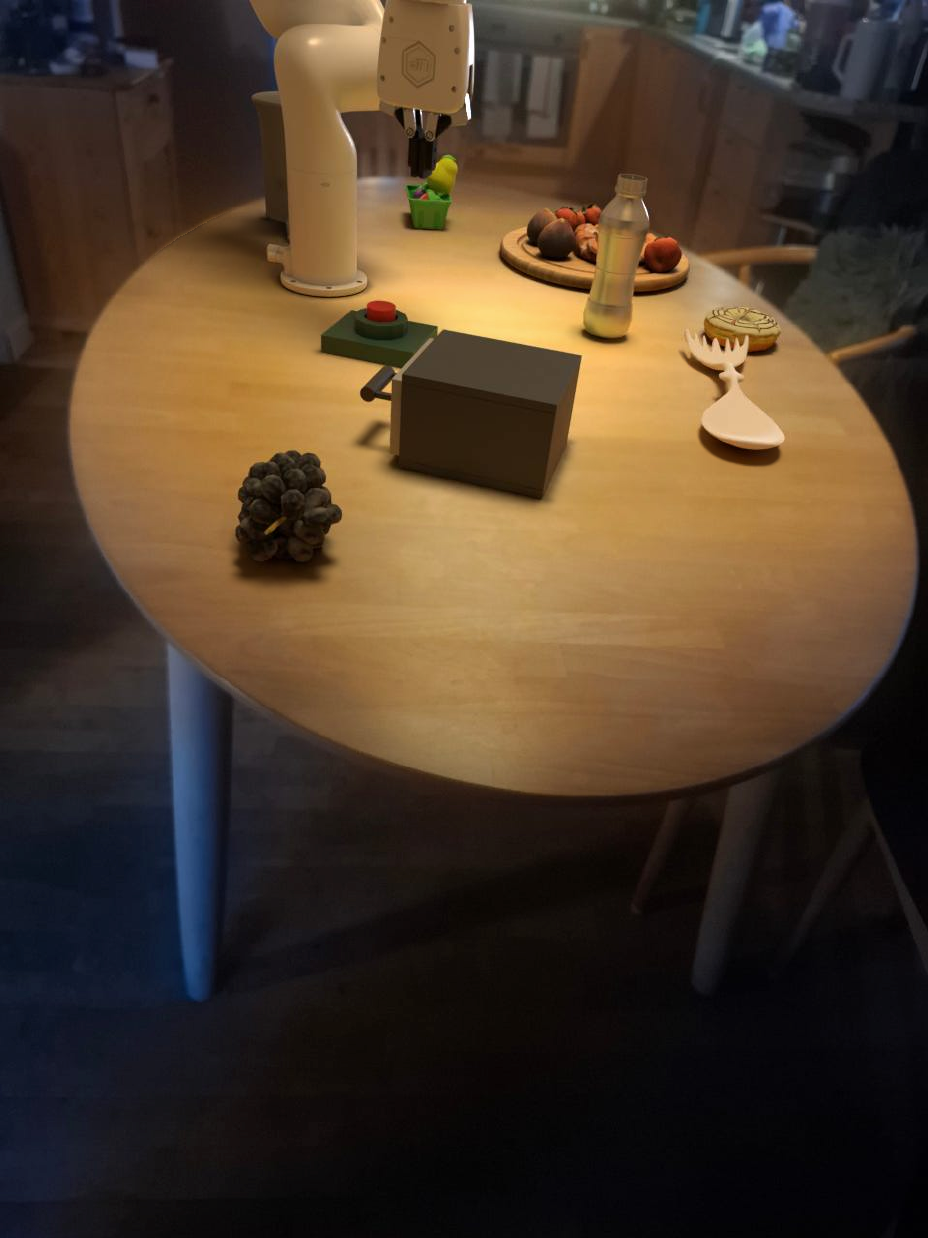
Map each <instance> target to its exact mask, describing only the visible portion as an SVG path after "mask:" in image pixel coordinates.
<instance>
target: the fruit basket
mask: <svg viewBox="0 0 928 1238" xmlns="http://www.w3.org/2000/svg"><path fill="white" fill-rule="evenodd" d="M456 161H457V159H456V158H455V157H453V155H451V154H445V155H443V156H442V157H440V160H439V161H438V162H436V168H435V170H434V171H432V175H430V176H429V177H427V178H426V180H427V181H426V182H424V181H422V182H421V184H405V190H406V195H407V199H408V204H409V210H410V215H411V220H412V224H413V227H414V229H424V230H443V229H444V226H445V223H446V218H447V215H448V212H449V209H450V207H451V204H452V201H453V200H452V198H451V195H450V193H452V191H453V190H454V188H455V185H456V178H457V174H458V171H459V170H458V169H459V168H458V164H457V163H456Z"/></svg>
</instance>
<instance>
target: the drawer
mask: <svg viewBox="0 0 928 1238" xmlns="http://www.w3.org/2000/svg"><path fill="white" fill-rule="evenodd" d="M433 340H434V339H432V338H429V340H428V341H427V342H426V343H425V344H424V345H423V346H422V347H421V348H420V349H419V350H418V351H417V352H416V354H415V355H414V356H413V357H412V358H411V359H410V360H409V361H408V362H407V363H406V364H405V365H404V366H403V367H402V368H400V369H399V371H398V372H395V369H394V368H393V366H389V365H383V366H382V367H380V369H379V370H378V371H377V372H376V373H375V374H374V375H373V376H372V377H371V378H370V379H369V380H368V381H367V382H366V383H365V384H364V385H363V386H362V387H361V388H360V390H359V396H360V398H361V399H362V401H364V402H366V403H371V402H373V401H375V400H376V399H378V400H382V401H388V402H390V424H389V425H390V426H389V427H390V428H389V430H390V431H389V432H390V433H389V454H390V455H394V456H398V457H399V441H400V415H401V389H402V374H403V372H404V371H405V370H406V369H407V368H408V367H409V366H410V365H411V364H412V363H413V362H414V360H415V359H416V358H417V357H418V356H419V355H420V354H421V353H422V352H423V351H424V350H425V348H426V347H427V346H428V345H429V344H430V343H431V342H432V341H433ZM389 384H391V389H390V391H391V392H386V391H383V390H385V388H386V387H387V386H388V385H389Z"/></svg>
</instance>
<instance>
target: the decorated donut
mask: <svg viewBox="0 0 928 1238" xmlns="http://www.w3.org/2000/svg"><path fill="white" fill-rule="evenodd" d="M703 329H704V333H705V334H706V336H707V338H708V339H710V341H711V342H713V340H714V339H715V338H716V339H717V340H718V342H719V345H720V347H724V348H725V344H726V339H727V338H728V339H729V343H730V348H731V351H733V350H734V344H735V339H736V337H737V339H738V341H739V345H740V347H741V346H743V343H744V339H745V336H746V335H748V338H749V347H748V351H747V353H752V352H760V351H765V350H767V349H769V348H770V347H772V346H773V345H774V344H775V343H776V341H777V340H778V338H780V335H781V334H782V329H781V326H780V323H779V322H778V321H777V320H776V319H775V318H774V317H773V316H771V315H770V314H767V313H764V312H762V311H761V310H758V309H754V308H753V307H748V306H721V307H718V308H714V309H711V310H709V311H708V312H707V313H706V314H705V318H704V320H703Z"/></svg>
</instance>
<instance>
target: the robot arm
mask: <svg viewBox="0 0 928 1238" xmlns="http://www.w3.org/2000/svg"><path fill="white" fill-rule="evenodd" d="M248 1H249V3H250V5H251V7H252V9H253V11H254V13H255V15H256V17H257V19H258V20H259V22H260V24H261V25H262V27H263V28H264V30H265V31H266V33H268V34H269V35H270V36H271V37H272V38H273V39H276V40H277V41H276V43H275V47H274V52H273V69H274V76H275V80H276V85H277V91H279V96H280V101H281V107H282V113H283V121H284V131H285V145H286V165H287V187H288V210H289V234H290V242H289V245H287V247H286V246H282V245H279V244H274V243H269V244H268V245H267V247H266V258H267V261H268V262H270V263H276V264H277V263H278V264H281V265H282V266H283V270H281V272H280V283H281V285H282V286H284V287H285V288H286V289H288V290H290V291H292V292H295V293H298V294H302V295H307V296H313V297H325V298H326V297H330V298H331V297H334V298H335V297H345V296H351V295H355V294H358V293H360V292H362V291H363V290H365V289H366V288H367V286H368V276H367V274H366V273H365V272H364V271H362V270H361V269H358V153H357V148H356V144H355V142H354V139H353V137H352V135H351V133H350V132H349V130H348V128H347V126H346V125H345V123H344V120H343V118H342V116H341V115H342V113H343V114H344V113H349V112H376V111H380V112H382V113H384V114H386V115H389V116H391V117H393V118H396V120H397V121H398V123H399V125H400V126H401V127H402V129H403V130H404V134H405V136H406V137H407V138H408V146H407V147H408V149H407V151H408V152H407V166H408V167H409V168H410V177H411V178H417V177H418V178H419V179H420V180H421V179H422V180H425V179H427V177H429V176H430V175H432V171H434V170H435V168H436V163H437V161H438V143H439V138H440V137H441V136H443V134H444V133H445V132H446V131H447V130H449V129H450V128H451V127H452V128H453V127H459V126H466V125H468V124H470V123H471V122H472V113H471V104H472V101H473V94H474V83H475V29H474V28H475V27H474V13H473V5H472V3H468V2H467V0H385V5H383V4H382V1H381V0H248ZM423 111H426V112H428V113H427V119H426V123H425V129H424V122H423Z"/></svg>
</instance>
